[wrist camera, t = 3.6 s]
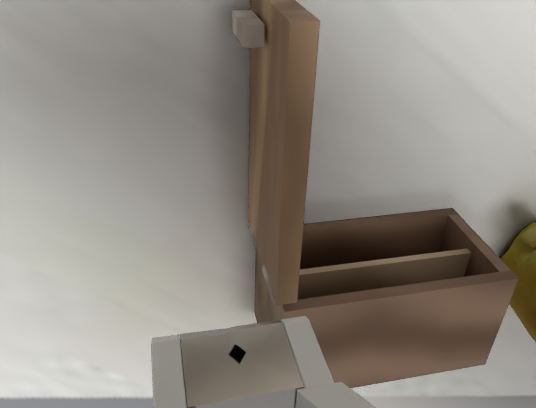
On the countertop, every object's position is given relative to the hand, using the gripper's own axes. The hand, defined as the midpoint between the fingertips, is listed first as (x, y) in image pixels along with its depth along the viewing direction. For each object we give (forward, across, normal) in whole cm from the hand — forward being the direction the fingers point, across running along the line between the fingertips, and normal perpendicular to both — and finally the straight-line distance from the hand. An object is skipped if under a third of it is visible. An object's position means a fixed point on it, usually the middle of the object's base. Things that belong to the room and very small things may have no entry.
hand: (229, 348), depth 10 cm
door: (+21, -4, +5) cm, 22 cm away
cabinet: (+21, -12, +17) cm, 30 cm away
